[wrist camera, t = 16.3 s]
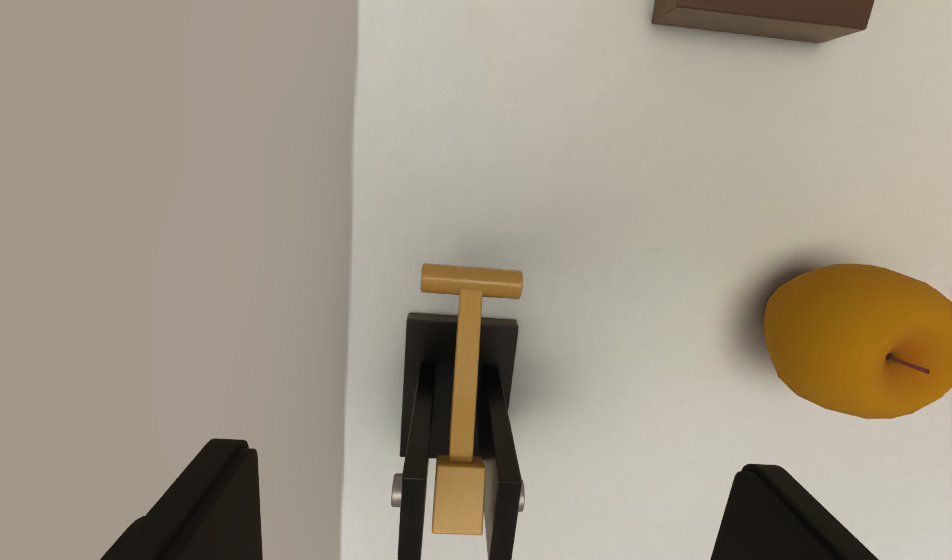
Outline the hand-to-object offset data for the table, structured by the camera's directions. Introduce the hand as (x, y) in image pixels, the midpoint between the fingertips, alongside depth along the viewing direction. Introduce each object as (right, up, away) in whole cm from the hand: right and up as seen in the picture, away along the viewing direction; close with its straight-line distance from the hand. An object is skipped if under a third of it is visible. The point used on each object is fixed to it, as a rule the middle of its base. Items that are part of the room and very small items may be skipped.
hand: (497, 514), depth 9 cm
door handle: (-1, -1, +14) cm, 14 cm away
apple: (+21, +3, +22) cm, 30 cm away
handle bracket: (-2, -3, +22) cm, 22 cm away
